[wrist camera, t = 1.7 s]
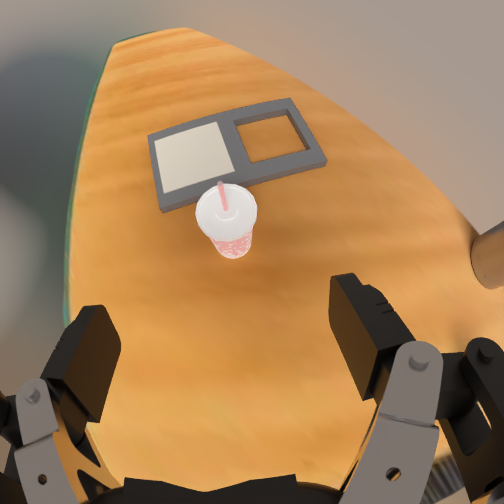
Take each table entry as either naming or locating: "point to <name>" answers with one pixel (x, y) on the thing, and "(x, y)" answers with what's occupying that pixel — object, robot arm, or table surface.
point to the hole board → (223, 154)
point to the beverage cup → (228, 218)
